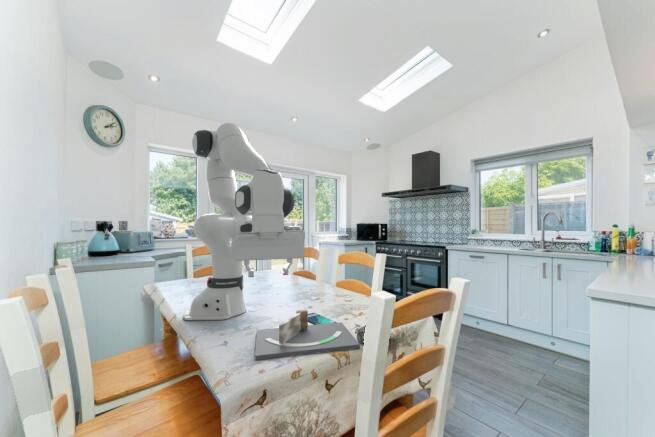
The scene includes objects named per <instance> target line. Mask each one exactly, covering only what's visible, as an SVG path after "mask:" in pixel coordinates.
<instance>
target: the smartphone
mask: <svg viewBox="0 0 655 437" xmlns="http://www.w3.org/2000/svg"><path fill="white" fill-rule="evenodd" d="M309 323H310V325H318V324H329V323H338V322H336V321H334V320H332V319H329V318H327V317H325V316H323V315H321V314H318V313H316V312H311V313H308V324H309Z"/></svg>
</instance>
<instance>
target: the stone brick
mask: <svg viewBox="0 0 655 437" xmlns="http://www.w3.org/2000/svg"><path fill="white" fill-rule="evenodd" d="M308 314H309V311H308V310H306V309H299V310H296V312H295V315H293V316H291V317H290V318H288V319H286V320H285V321H283V322H281V323H280V324H279V325H278V328H279V343H280V344H282V343H283V342H285V341H286V340H287V339H289V338H290V337H291V336H293V335H294V334H295V333H297V332H298V331H299V330H302V329H307V328H308V325H309V322H308Z"/></svg>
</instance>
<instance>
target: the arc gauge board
mask: <svg viewBox="0 0 655 437" xmlns="http://www.w3.org/2000/svg"><path fill="white" fill-rule="evenodd" d="M255 342H256V344H255V354H254V355H255V356H254V357H255V358H254V360H255V361H257V360H265V359H267V360H268V359H274V358H275V359H276V358H283V357H290V356H299V355H300V356H301V354H302V355H308V354H310V353H311V354H317V352H320V353H328V352H327V351H329V352H335V351H344V350H355V349H360V347H361V343H359V342H358V340H357V338H355V337H354V335H353V334H352V333H351V332H350V331H349V329H348V328H347V327H346V325H345V324H344V323H343V322H337V323H329V324H318V325H313V324H310V325H309V324H308V328H307V329H302V330H299V331H298V332H297V333H295V334H294V335H293V336H291V337H290V338H289V339H287V340H286V341H285V342H283V343H282V344H280V343H279V327H275V328H273V327H272V328H263V329H257V330H256V340H255Z"/></svg>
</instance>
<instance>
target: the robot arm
mask: <svg viewBox="0 0 655 437" xmlns="http://www.w3.org/2000/svg"><path fill="white" fill-rule="evenodd" d="M191 144H192V145H191V146H192V149H193V151H194V153H195V155H196V156H198V158H202V159H209V160H208V161H207V164H206V165H207V167H206V182H207V191H208V199H209V201H210V203H211V204H212V205H213V206H214V207H215V208H217V209H219V210H220V211H221V212H222V213H208V214H203V215H199V216H198V217H197V218H196V219H195V221H194V223H193V233H194V236H195V237H196V238H197V240H199V241H200V242H202V243H203V244H204V245H205V246H206V248H207V249H208V251H209V254H210V256H211V263H212V264H211V265H212V276H209V277H207V280H206V287H205V288H204V289H203V290H202V291H201V292H200V293H198V294H197V295H196V296H195V297H194V298H193V299H192V302H191V304H190V309H188V310H187V311H185V313H184V314H183V320H185V321H215V320H216V321H217V320H220V321H221V320H222V321H223V320H228V319H230V318H232V317H235V316H236V317H237V316H239V315H241V314H244V313H245V312H246V311H247V308H246V303H245V299H244V281H245V280H244V279H245V278H244V275H243V266H244V268H245V269H246V271H248V272H247V274H248V278H254V276H255V272H254V271H255V270H254V269H251V268H250V266H249V265H250V261H264V260H265V261H266V260H286V262H287V265H286V266H285V268H284V267H283V268H282V275H283V276H289V271H290V270H289V269H290V268H291V266H292V264H293V260H294V259H303V257H305V254H306V251H305V243H304V241H305V239H306V231H305V230H304V228H302V227H301V226H299V225H295V226H292V225H285V219H286V218H287V216H289V215H290V213H292V211H293V210H294V207H295V205H296V204H295V197H294V195H293V193H292V191H291V190H290V188H288V186H285V185H284V182H283V178H282V174H281V173H280V172H279V171H277V170H274V169H273V168H272V166H271V165H270V163H269V162H268V161H267V160H266V159H265V158H264V157H263V156H261V155H260V154H259V153H258V152H257V151H256V150H255V149H254V148H253V146H252V143H251V140H250V138H249V137H248V136H246V134H245V133H244V132H243V130H242V129H241V128H240V126H238V125H236V124H235V123H231V122H226V123H222V124H220V125H219V126H218V127H217V129H216V130H207V129H200V130H197V131H196V132H195V133H193V138H192V141H191ZM235 172H237V173H240V174H241V173H242V174H243V175H244V174H245V175H248V176H250V177H251V179H250V180H249V181H248V182H247V183H246V184H243V185H241V186H240V187H239V188H238V187H237V181H236V174H235Z"/></svg>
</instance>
